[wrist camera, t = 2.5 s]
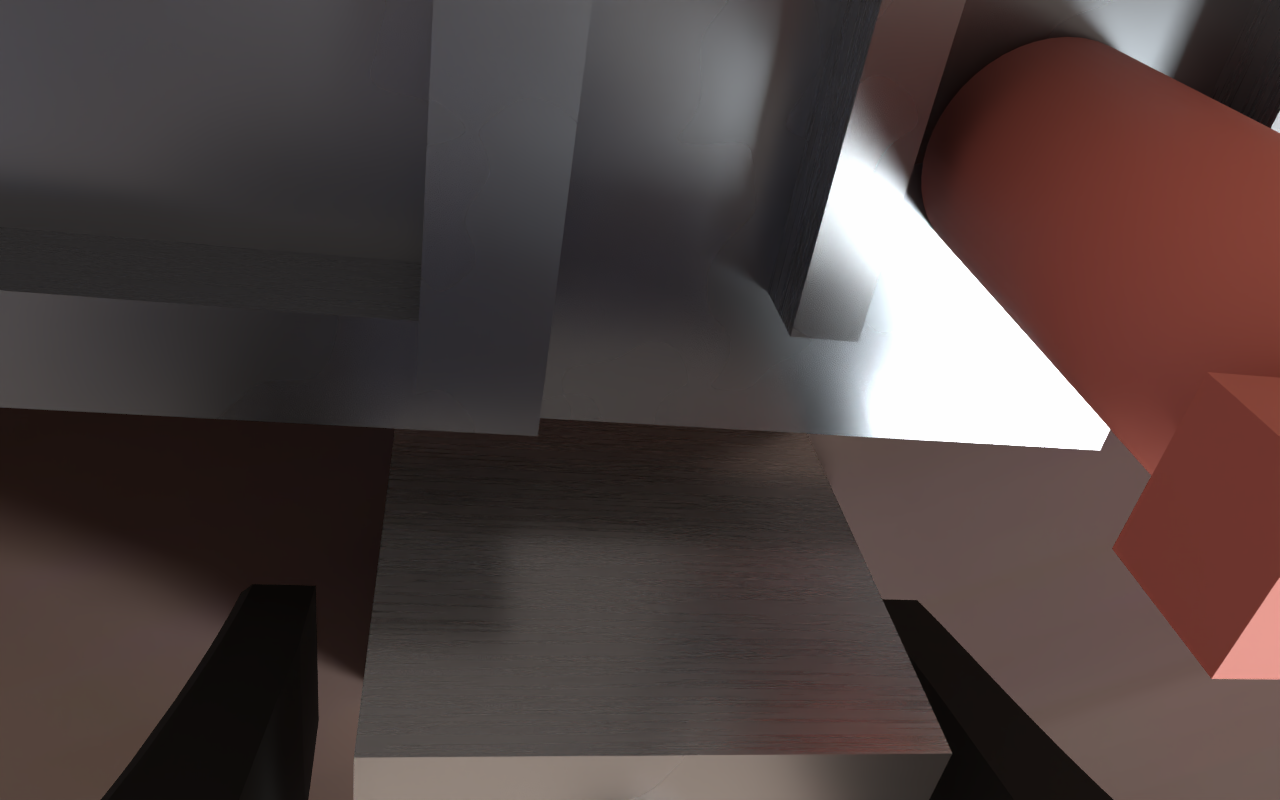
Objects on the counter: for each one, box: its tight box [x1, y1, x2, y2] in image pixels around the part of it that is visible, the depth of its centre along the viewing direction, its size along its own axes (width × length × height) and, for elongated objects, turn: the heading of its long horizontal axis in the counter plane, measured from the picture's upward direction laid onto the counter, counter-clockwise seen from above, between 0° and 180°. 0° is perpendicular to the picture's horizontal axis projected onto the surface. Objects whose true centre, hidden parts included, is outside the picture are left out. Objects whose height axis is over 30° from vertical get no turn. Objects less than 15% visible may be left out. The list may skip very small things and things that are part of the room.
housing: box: [354, 418, 952, 800], centre depth 10 cm, size 4×4×5 cm
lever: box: [921, 37, 1280, 679], centre depth 6 cm, size 2×3×5 cm, turn 81°
